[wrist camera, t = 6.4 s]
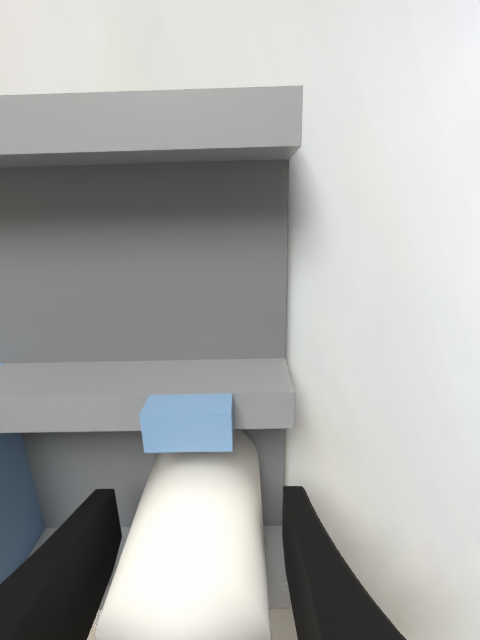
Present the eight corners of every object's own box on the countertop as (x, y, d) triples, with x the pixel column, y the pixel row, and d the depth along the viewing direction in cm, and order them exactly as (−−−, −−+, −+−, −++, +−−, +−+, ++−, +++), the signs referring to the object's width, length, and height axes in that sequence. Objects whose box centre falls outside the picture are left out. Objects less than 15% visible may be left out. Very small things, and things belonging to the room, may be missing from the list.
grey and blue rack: (287, 118, 11) (317, 55, 6) (281, 535, 16) (296, 662, 11) (-72, 129, 11) (-288, 76, 6) (35, 537, 16) (-44, 664, 11)
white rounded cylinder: (258, 417, 13) (271, 580, 7) (259, 502, 14) (270, 699, 9) (151, 419, 13) (82, 583, 7) (161, 503, 14) (107, 700, 9)
